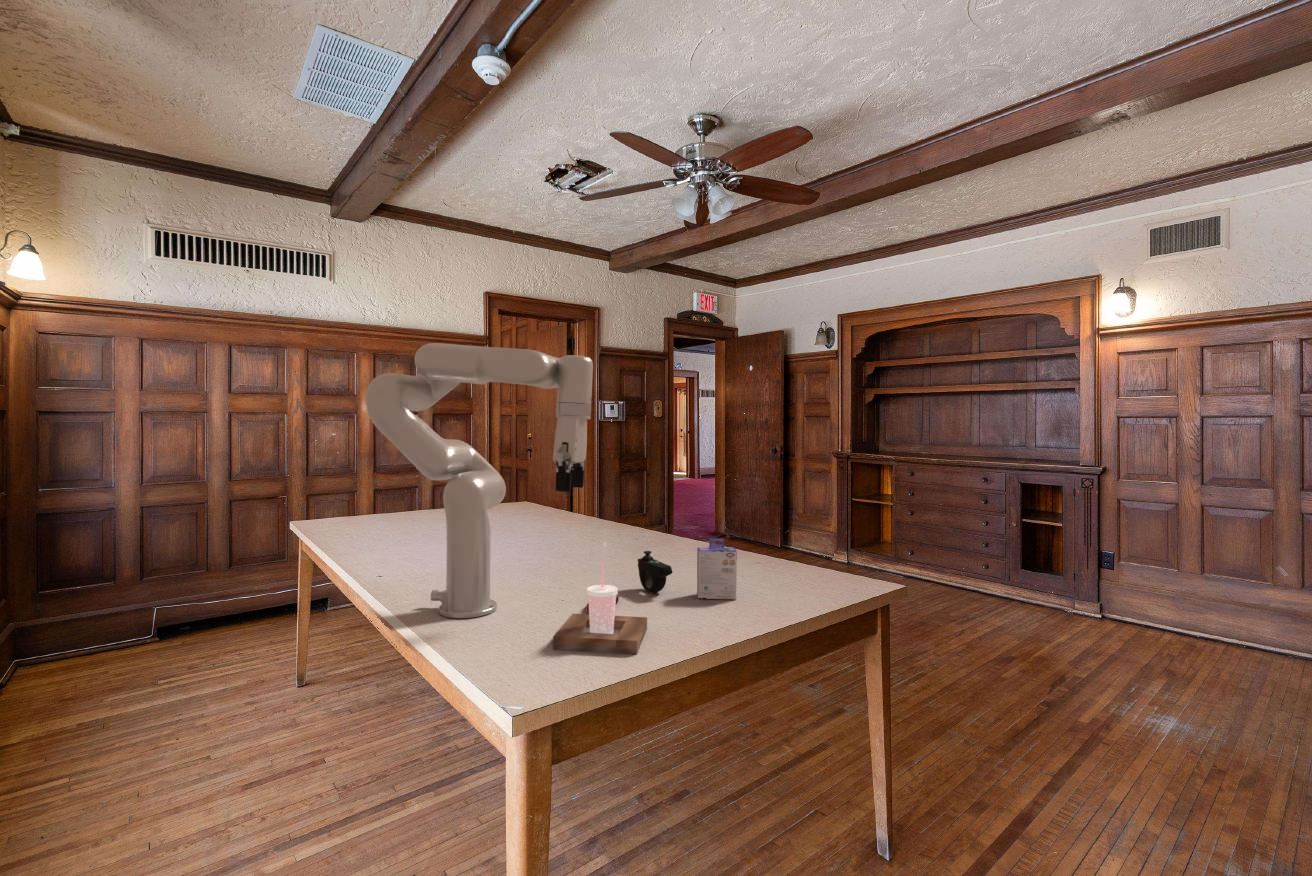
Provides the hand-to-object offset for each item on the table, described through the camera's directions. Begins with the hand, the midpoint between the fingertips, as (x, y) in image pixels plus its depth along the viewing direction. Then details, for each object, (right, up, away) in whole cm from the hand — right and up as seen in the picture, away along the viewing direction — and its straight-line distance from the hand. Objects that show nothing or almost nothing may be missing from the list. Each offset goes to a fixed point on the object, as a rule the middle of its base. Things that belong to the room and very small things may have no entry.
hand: (569, 489), depth 130 cm
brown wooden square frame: (+8, -29, -13) cm, 33 cm away
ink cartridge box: (+34, -29, +18) cm, 48 cm away
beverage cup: (+8, -28, -13) cm, 32 cm away
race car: (+7, -29, +8) cm, 31 cm away
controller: (+19, -29, +21) cm, 40 cm away
